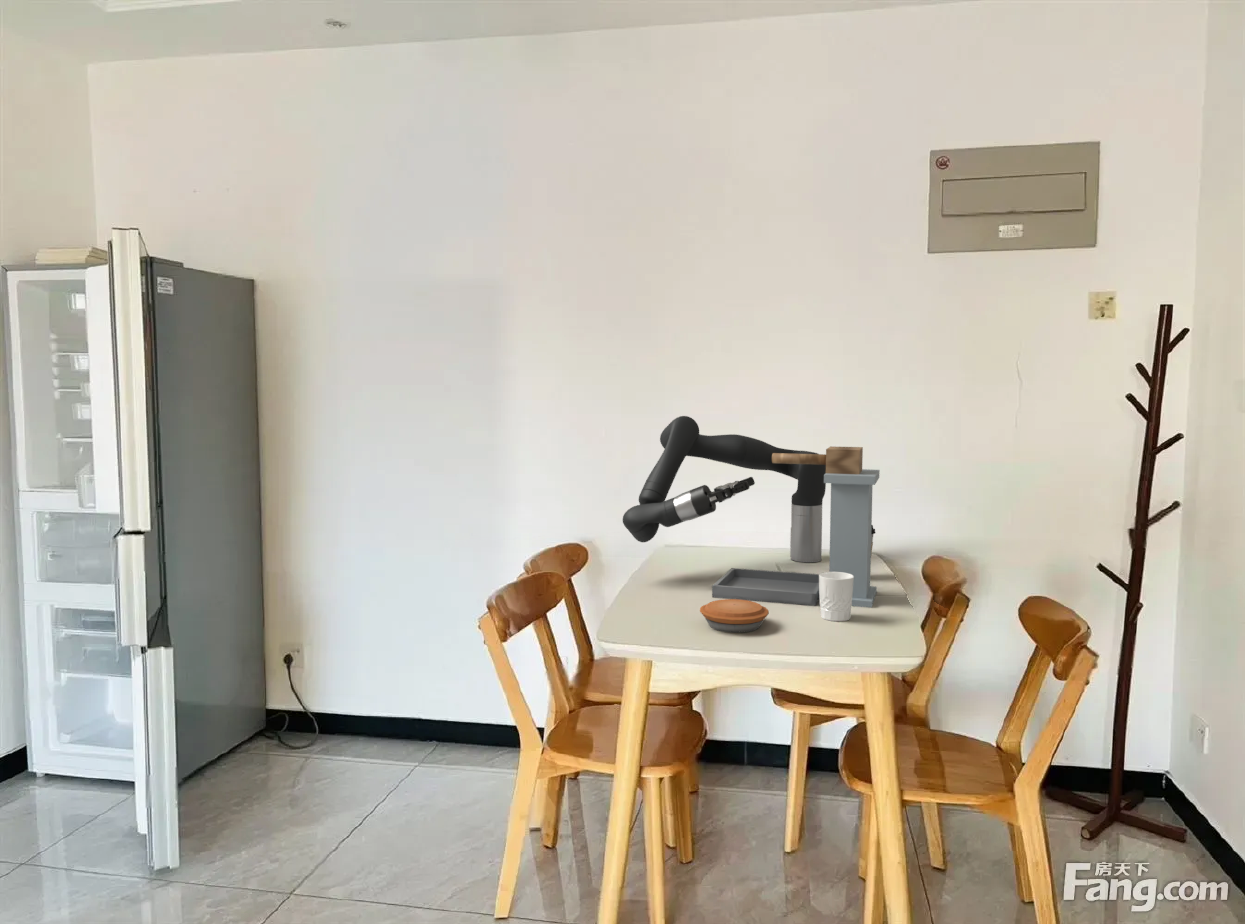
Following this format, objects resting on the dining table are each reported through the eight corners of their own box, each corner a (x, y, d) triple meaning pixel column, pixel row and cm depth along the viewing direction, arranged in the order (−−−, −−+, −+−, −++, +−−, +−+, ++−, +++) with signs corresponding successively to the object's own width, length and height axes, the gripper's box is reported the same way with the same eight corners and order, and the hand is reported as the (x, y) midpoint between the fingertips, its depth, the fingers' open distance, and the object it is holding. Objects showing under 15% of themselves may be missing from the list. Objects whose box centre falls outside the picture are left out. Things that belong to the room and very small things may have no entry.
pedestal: (821, 603, 215) (823, 474, 212) (829, 588, 230) (831, 468, 227) (871, 607, 211) (875, 476, 208) (876, 592, 226) (879, 469, 223)
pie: (780, 632, 191) (781, 610, 191) (715, 638, 187) (715, 615, 187) (751, 614, 206) (751, 593, 206) (689, 619, 202) (690, 598, 201)
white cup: (854, 614, 205) (855, 573, 204) (851, 623, 198) (852, 580, 197) (820, 611, 207) (820, 570, 207) (816, 620, 200) (816, 577, 199)
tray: (712, 597, 222) (712, 585, 221) (731, 578, 242) (731, 567, 242) (815, 606, 213) (815, 594, 212) (826, 585, 233) (827, 574, 233)
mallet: (769, 471, 220) (769, 447, 219) (775, 468, 228) (776, 445, 228) (859, 474, 213) (859, 449, 212) (862, 470, 221) (862, 447, 220)
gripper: (683, 494, 225) (741, 472, 220) (695, 486, 238) (750, 465, 233) (694, 521, 225) (752, 499, 219) (705, 512, 238) (760, 491, 233)
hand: (751, 482), depth 226 cm, fingers open, 8 cm apart
